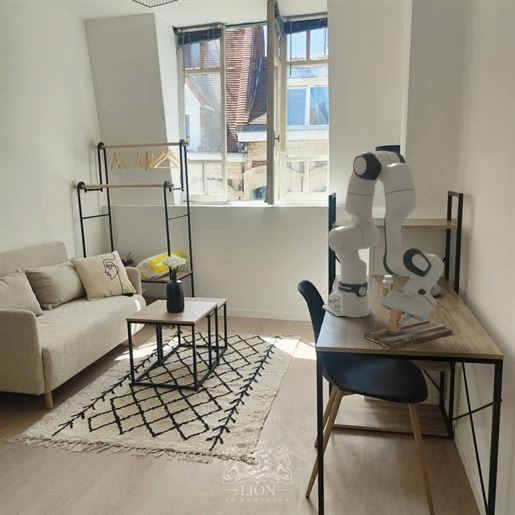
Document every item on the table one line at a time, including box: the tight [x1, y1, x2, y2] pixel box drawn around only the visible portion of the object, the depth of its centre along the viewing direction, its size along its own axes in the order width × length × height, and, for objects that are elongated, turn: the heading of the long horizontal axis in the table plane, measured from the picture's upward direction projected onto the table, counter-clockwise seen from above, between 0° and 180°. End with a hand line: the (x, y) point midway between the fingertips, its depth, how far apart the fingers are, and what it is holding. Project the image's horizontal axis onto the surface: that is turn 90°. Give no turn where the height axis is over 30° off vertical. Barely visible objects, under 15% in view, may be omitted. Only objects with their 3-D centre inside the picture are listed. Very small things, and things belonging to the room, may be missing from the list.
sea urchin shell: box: [430, 282, 442, 297], centre depth 231 cm, size 13×14×8 cm
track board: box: [363, 318, 453, 349], centre depth 173 cm, size 14×31×2 cm, turn 119°
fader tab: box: [386, 309, 404, 336], centre depth 168 cm, size 5×4×9 cm
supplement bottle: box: [381, 274, 395, 297], centre depth 230 cm, size 5×5×10 cm
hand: (394, 322), depth 168 cm, fingers closed on fader tab, 3 cm apart
